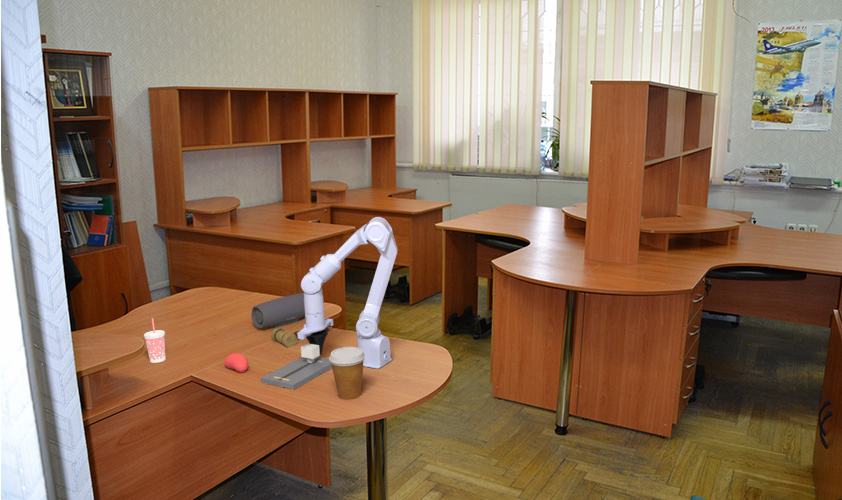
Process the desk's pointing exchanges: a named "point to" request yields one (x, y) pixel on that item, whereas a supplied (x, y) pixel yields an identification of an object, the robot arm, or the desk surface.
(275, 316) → the bluetooth speaker
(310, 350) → the fader
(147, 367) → the desk surface
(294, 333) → the gavel
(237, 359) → the red kidney bean
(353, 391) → the disposable coffee cup
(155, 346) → the beverage cup
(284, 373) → the grey slider base
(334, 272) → the robot arm
